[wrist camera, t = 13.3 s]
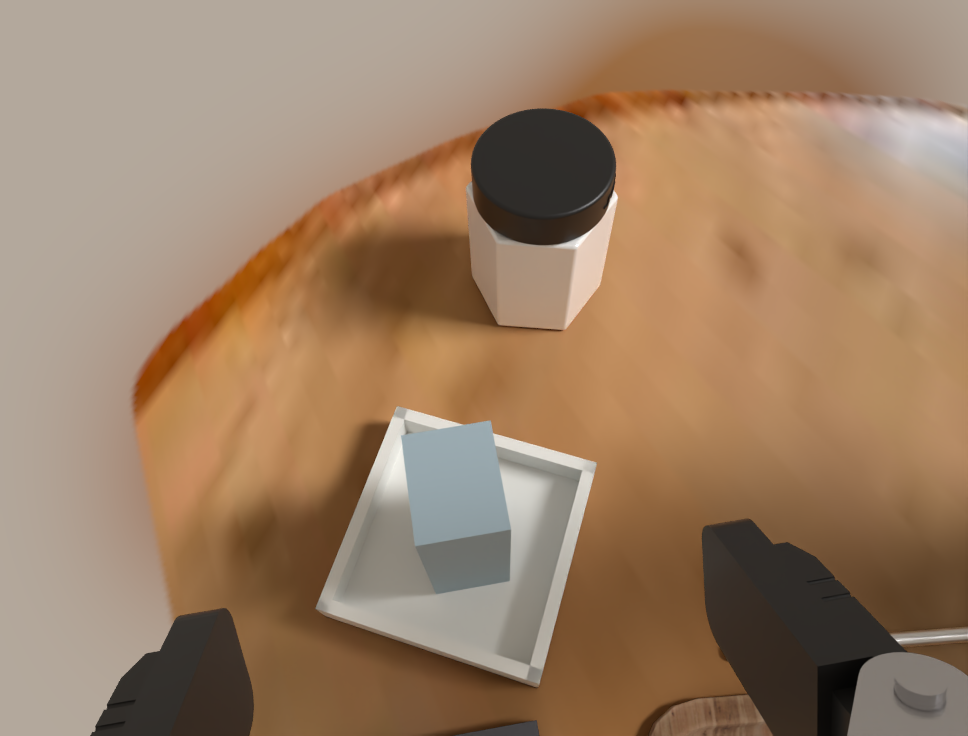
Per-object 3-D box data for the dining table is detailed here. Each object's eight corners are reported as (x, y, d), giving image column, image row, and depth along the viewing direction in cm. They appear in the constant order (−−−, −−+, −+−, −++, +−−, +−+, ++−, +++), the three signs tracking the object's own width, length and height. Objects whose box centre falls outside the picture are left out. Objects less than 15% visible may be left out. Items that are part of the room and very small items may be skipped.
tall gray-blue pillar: (493, 493, 44) (490, 420, 34) (509, 581, 42) (511, 529, 32) (424, 505, 44) (400, 435, 34) (436, 594, 42) (415, 546, 32)
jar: (618, 309, 51) (648, 191, 40) (510, 353, 49) (512, 243, 39) (559, 215, 54) (572, 84, 44) (457, 253, 53) (445, 129, 42)
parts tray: (402, 422, 47) (397, 406, 45) (592, 477, 45) (596, 462, 43) (325, 616, 42) (315, 608, 40) (537, 687, 40) (539, 684, 38)
